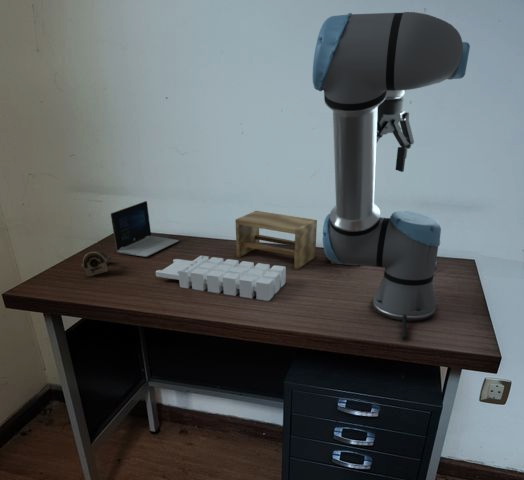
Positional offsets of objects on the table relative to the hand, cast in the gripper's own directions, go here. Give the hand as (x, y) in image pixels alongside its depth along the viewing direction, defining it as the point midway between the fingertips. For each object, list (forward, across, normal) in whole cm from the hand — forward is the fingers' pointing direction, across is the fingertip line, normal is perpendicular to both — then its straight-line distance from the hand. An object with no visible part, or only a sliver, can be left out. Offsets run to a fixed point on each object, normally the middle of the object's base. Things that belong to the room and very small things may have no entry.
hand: (382, 175), depth 147 cm
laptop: (+22, +61, -45) cm, 79 cm away
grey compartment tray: (+20, +54, -5) cm, 58 cm away
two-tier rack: (+23, +30, -14) cm, 40 cm away
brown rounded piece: (+19, +80, -33) cm, 89 cm away
